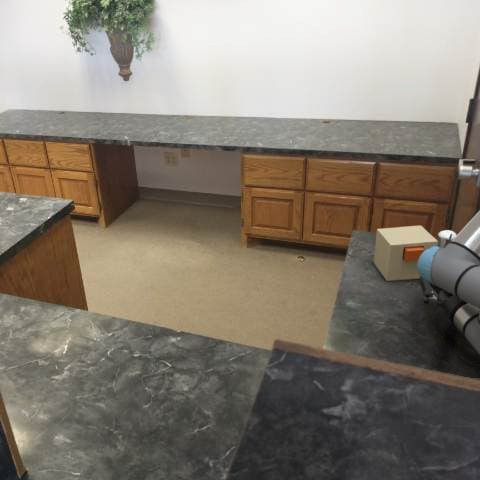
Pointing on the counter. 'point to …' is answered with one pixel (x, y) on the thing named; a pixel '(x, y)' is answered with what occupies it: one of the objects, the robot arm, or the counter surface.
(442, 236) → the milkshake
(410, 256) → the orange block
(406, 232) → the beige box with handle
